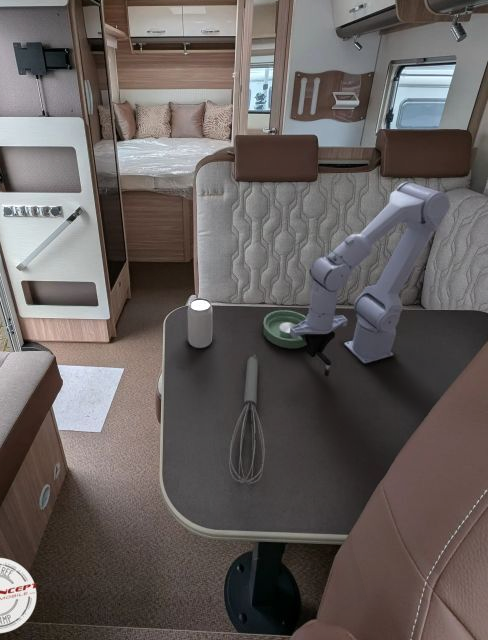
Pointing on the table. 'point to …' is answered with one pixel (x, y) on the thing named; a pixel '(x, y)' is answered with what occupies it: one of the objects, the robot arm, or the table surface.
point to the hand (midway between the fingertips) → (314, 353)
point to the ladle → (285, 333)
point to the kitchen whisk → (249, 404)
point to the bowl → (273, 325)
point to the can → (200, 323)
